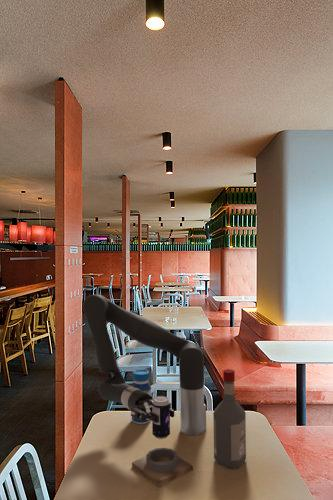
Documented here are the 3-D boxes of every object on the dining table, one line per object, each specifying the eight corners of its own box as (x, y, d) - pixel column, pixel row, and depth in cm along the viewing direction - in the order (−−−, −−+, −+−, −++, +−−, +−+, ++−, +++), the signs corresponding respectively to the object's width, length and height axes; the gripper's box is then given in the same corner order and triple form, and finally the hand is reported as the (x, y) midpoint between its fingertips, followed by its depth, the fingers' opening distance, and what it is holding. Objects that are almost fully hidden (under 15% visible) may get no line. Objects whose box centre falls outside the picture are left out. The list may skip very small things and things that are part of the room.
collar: (164, 452, 134) (164, 444, 134) (184, 464, 126) (183, 457, 126) (140, 462, 128) (140, 454, 128) (159, 476, 120) (159, 468, 120)
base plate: (165, 452, 137) (165, 447, 137) (192, 469, 126) (192, 465, 126) (132, 466, 128) (131, 462, 128) (158, 487, 117) (158, 482, 117)
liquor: (248, 458, 132) (247, 369, 131) (237, 471, 124) (235, 377, 124) (223, 450, 137) (222, 365, 137) (211, 463, 129) (210, 372, 129)
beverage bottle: (153, 416, 166) (152, 368, 165) (150, 425, 157) (149, 375, 157) (134, 415, 167) (133, 368, 167) (129, 424, 158) (128, 374, 158)
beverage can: (168, 441, 123) (167, 403, 123) (150, 439, 125) (150, 401, 124) (171, 432, 129) (171, 396, 129) (154, 430, 130) (154, 394, 130)
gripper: (118, 394, 133) (147, 411, 120) (152, 384, 142) (183, 399, 129) (118, 416, 133) (147, 435, 120) (152, 405, 142) (183, 422, 129)
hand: (165, 416), depth 125 cm, fingers closed on beverage can, 5 cm apart
